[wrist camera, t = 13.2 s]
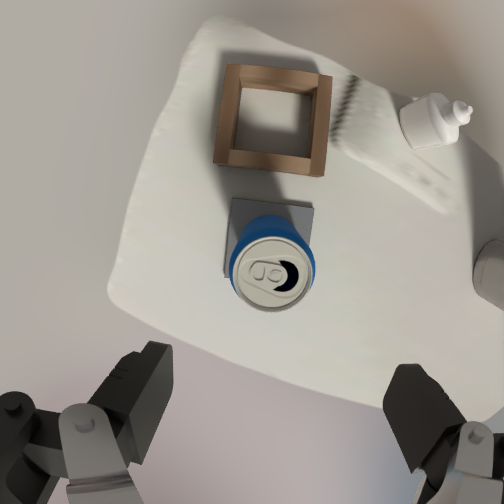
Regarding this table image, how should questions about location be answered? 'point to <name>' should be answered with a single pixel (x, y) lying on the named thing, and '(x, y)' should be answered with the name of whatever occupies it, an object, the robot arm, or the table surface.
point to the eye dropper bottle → (433, 121)
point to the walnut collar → (276, 81)
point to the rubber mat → (252, 209)
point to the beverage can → (271, 265)
